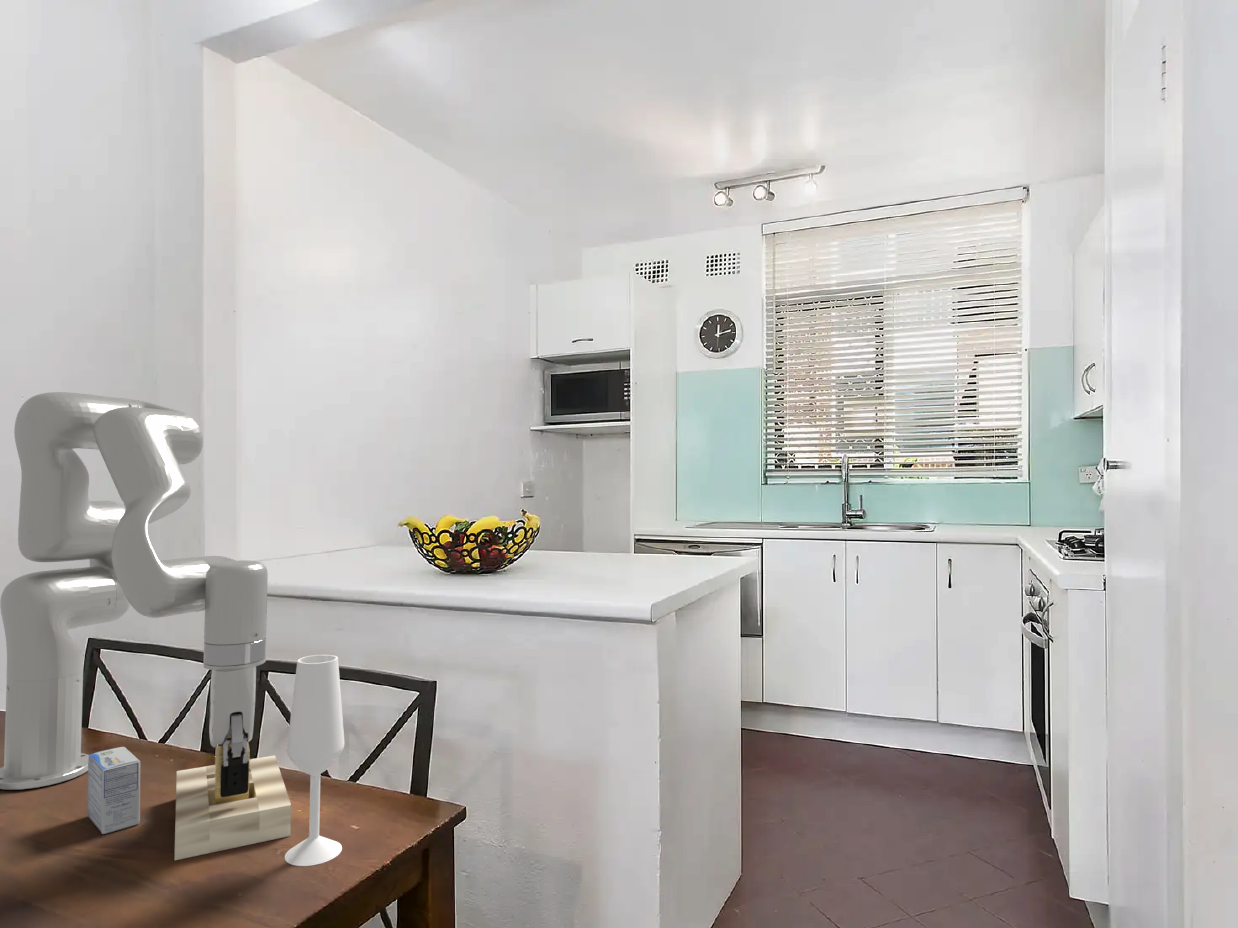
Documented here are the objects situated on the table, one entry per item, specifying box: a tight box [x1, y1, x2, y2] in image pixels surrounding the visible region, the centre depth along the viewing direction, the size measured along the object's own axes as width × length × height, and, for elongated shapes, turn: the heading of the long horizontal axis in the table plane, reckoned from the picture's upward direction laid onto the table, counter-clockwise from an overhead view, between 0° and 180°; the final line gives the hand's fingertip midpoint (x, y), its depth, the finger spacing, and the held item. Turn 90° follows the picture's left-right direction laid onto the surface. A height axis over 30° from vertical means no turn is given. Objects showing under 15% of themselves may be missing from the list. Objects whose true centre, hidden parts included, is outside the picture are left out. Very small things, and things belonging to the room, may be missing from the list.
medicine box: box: [87, 746, 141, 835], centre depth 101 cm, size 8×4×9 cm, turn 47°
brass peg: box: [214, 742, 251, 805], centre depth 100 cm, size 4×4×10 cm
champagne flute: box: [284, 654, 345, 867], centre depth 93 cm, size 7×7×24 cm
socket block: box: [174, 755, 292, 861], centre depth 102 cm, size 20×13×4 cm, turn 30°
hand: (232, 781), depth 100 cm, fingers open, 8 cm apart
